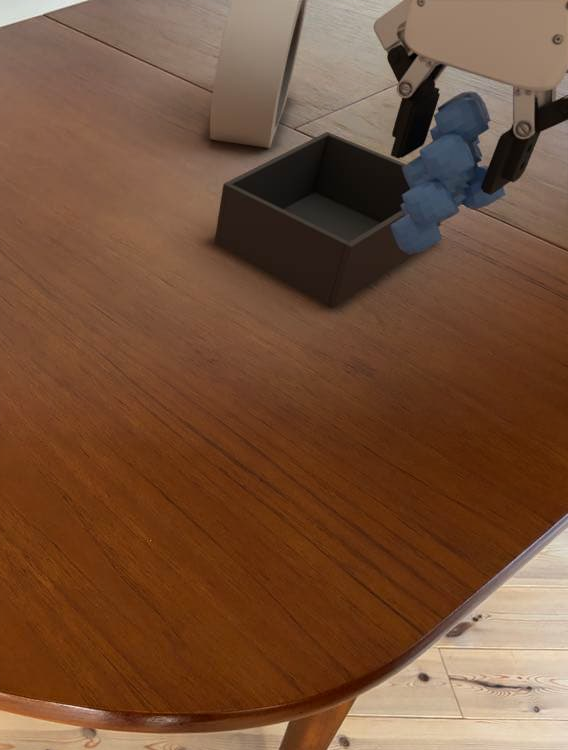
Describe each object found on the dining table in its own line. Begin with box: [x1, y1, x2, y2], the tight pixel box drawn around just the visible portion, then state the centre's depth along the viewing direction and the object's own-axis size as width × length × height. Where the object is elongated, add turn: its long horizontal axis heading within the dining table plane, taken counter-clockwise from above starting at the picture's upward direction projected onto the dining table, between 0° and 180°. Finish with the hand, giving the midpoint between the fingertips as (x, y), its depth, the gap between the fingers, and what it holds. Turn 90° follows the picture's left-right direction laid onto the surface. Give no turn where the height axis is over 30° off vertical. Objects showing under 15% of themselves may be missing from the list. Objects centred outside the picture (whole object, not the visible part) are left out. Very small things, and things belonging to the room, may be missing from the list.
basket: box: [214, 131, 418, 309], centre depth 89 cm, size 15×17×8 cm
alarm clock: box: [209, 0, 308, 149], centre depth 106 cm, size 21×8×20 cm, turn 160°
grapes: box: [391, 91, 506, 255], centre depth 58 cm, size 12×7×12 cm, turn 152°
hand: (451, 165), depth 57 cm, fingers closed on grapes, 5 cm apart
